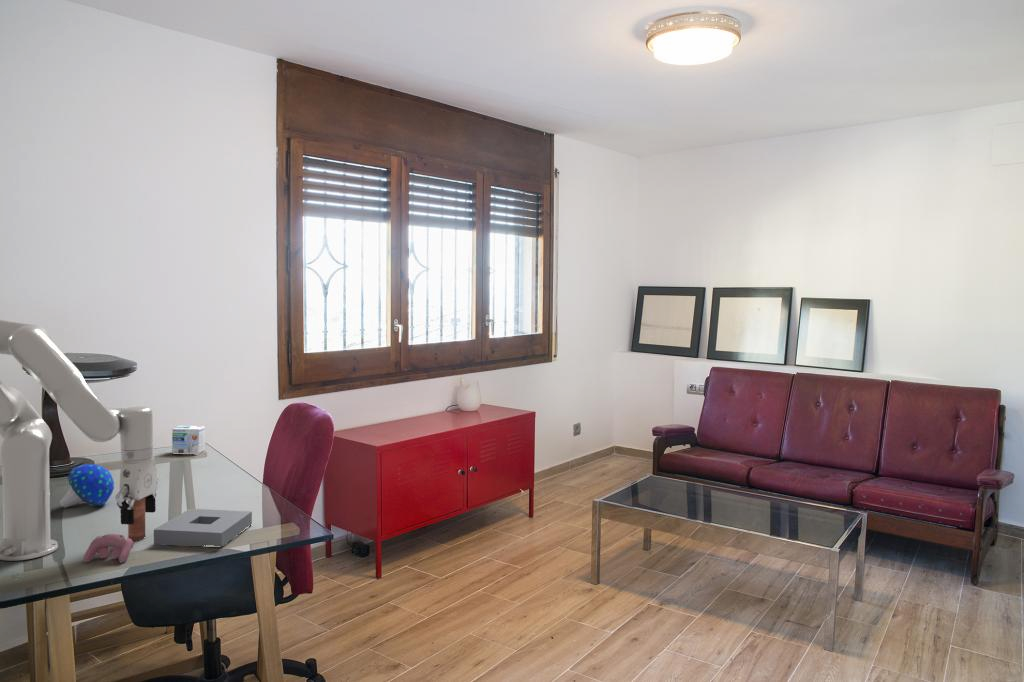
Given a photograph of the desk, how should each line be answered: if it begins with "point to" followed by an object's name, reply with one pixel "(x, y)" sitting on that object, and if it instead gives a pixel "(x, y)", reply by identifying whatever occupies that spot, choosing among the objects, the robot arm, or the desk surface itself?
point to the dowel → (137, 520)
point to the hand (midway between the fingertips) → (138, 517)
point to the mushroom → (88, 486)
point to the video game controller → (109, 540)
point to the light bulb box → (188, 439)
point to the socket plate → (202, 527)
